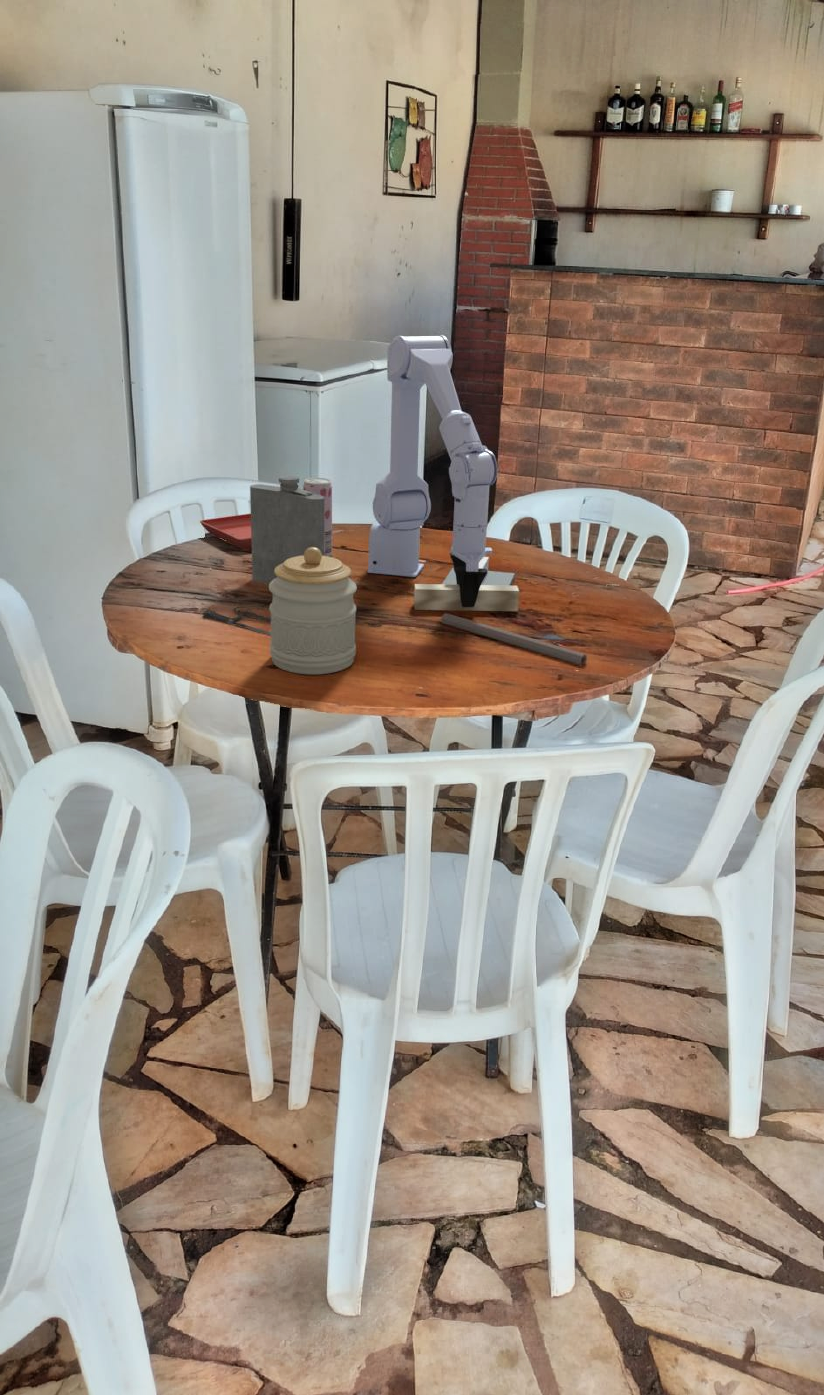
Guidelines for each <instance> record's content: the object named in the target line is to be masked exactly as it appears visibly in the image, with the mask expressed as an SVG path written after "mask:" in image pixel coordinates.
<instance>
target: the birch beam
mask: <svg viewBox="0 0 824 1395" xmlns="http://www.w3.org/2000/svg"><path fill="white" fill-rule="evenodd" d="M413 594H414V595H413V606H414V607H413V608H414V610H416V611H417V610H420V611H421V610H422V611H429V610H430V611H468V612H470V611H472V612H474V611H478V612H479V611H481V612H483V611H484V612H488V611H489V612H519V598H520V589H519V587H518V585H481V586H480V588H479V592H478V596H477V600H476V603H475V606H474V607H462V604H461V598H460V588H459V585H448V584H442V583H439V584H438V583H437V584H436V583H435V584H434V583H433V584H432V583H431V584H429V583H414V593H413Z"/></svg>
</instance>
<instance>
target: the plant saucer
mask: <svg viewBox="0 0 824 1395" xmlns="http://www.w3.org/2000/svg"><path fill="white" fill-rule="evenodd" d="M199 523H200V524H201V526H202V527H203V528H204V530H206V531H207V532H208V533H209V534H210V536H213V537H214V538H215V537H216V538H218V539H219V538H222V539H224V540H226V541H227V542H226V541H225V542H226V543H228V542H229V543H228V544H230V543H231V544H230V545H232V544H233V545H232V546H234V545H235V546H234V547H236V546H237V547H236V548H238V547H239V549H240V548H241V549H240V550H242V549H247V550H251V549H250V548H252V543H251V513H245V514H243V513H242V514H237V515H230V516H223V517H215V518H207V519H201V520H199ZM236 533H237V534H236ZM230 534H234V535H230ZM224 540H223V541H224Z"/></svg>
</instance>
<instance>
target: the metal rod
mask: <svg viewBox="0 0 824 1395" xmlns="http://www.w3.org/2000/svg"><path fill="white" fill-rule="evenodd" d="M440 622H441V624H443V625H446V626H450V627H452V628H456V629H460V630H463V631H466V632H470V633H472V634H475V635H479V636H481V637H482V636H483V637H487V638H488V639H493V640H496V641H498V642H502V643H506V644H508V645H511V646H515V647H519V648H522V649H526V650H527V651H528V650H529V651H532V652H535V653H539V654H542V655H545V656H549V657H551V658H555V659H558V660H561V661H564V662H565V661H566V662H568V663H572V664H575V665H576V666H577V665H578V666H582V665H584V664H586V663H587V661H588V660H587V659H588V657H587V654H585V653H582V652H579V651H575V650H572V649H568V648H565V647H561V646H558V645H554V644H552V643H549V642H545V641H541V640H539V639H535V638H532V637H528V636H524V635H521V634H518V633H514V632H512V631H508V630H504V629H500V628H498V627H494V626H491V625H488V624H484V623H481V622H477V621H474V620H471V619H468V618H464V617H460V616H458V615H453V614H450V613H446V612H445V613H444V614H442V617H441V621H440Z"/></svg>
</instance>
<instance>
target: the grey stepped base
mask: <svg viewBox="0 0 824 1395" xmlns="http://www.w3.org/2000/svg"><path fill="white" fill-rule="evenodd" d="M489 562H490V556H484V557H483V558H482V559H481V560H480V562H479V568H480V569H487V575H486V576H485V578H484V580H483V581H482V583H481V585H512V584H513V582H514V580H515V577H516V576H515V575H516V574H515V573H513V572H504V571H491V570H489ZM441 584H448V585H457V582H456V574H455V571H454V567H452V568H451V569H450V571H449V573H447V575H446V577H445V578H444V580H443V582H442V583H441ZM512 586H513V585H512Z"/></svg>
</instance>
